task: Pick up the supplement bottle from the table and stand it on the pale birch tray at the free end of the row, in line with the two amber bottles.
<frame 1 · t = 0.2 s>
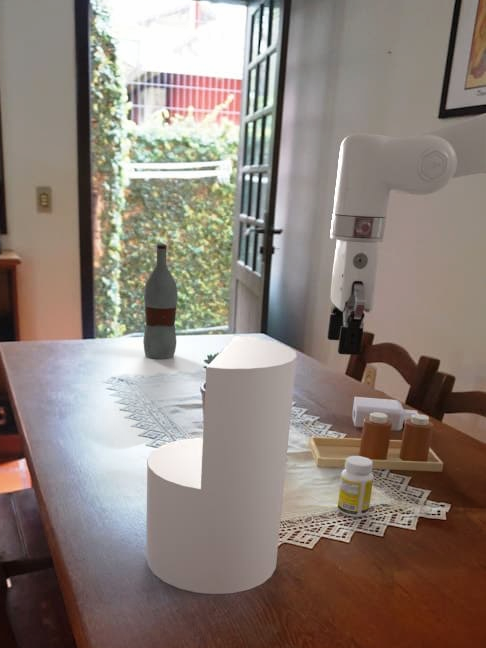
hand: (342, 346, 105), 23 cm above the table, tool pointing down, fingers open, 9 cm apart
grey green soda bottle: (159, 356, 193), on the table
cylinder: (211, 559, 91), on the table
tray: (372, 459, 126), on the table
charger: (388, 426, 145), on the table
amber bottle 2: (372, 457, 126), resting on tray
supplement bottle: (352, 512, 106), on the table
amber bottle 1: (413, 458, 126), resting on tray
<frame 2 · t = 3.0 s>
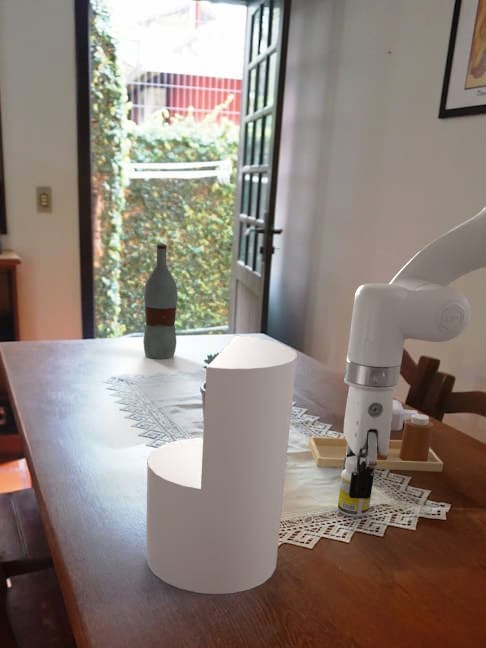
hand: (355, 488, 104), 4 cm above the table, tool pointing down, fingers closed on supplement bottle, 4 cm apart
supplement bottle: (352, 512, 106), on the table, touching gripper
everything else where it was.
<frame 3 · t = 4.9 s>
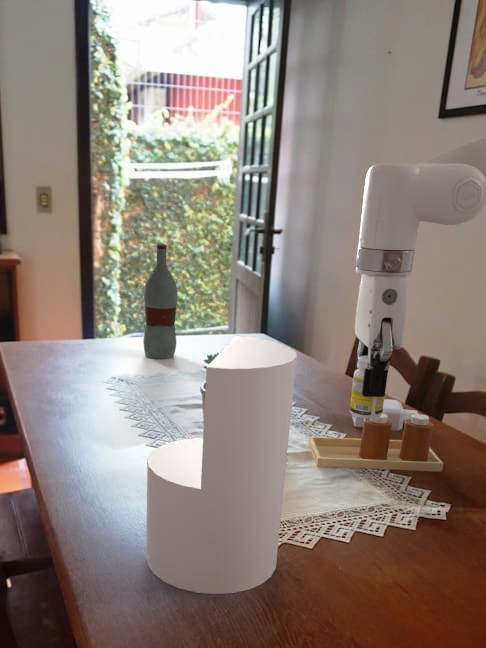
hand: (368, 389, 100), 19 cm above the table, tool pointing down, fingers closed on supplement bottle, 4 cm apart
supplement bottle: (365, 415, 102), point 15 cm above the table, touching gripper
everything else where it was.
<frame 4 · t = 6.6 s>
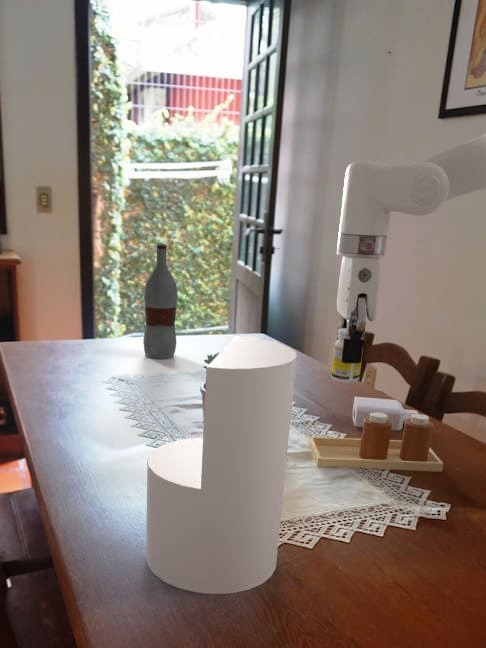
hand: (347, 357, 116), 19 cm above the table, tool pointing down, fingers closed on supplement bottle, 4 cm apart
supplement bottle: (344, 380, 117), point 16 cm above the table, touching gripper
everything else where it was.
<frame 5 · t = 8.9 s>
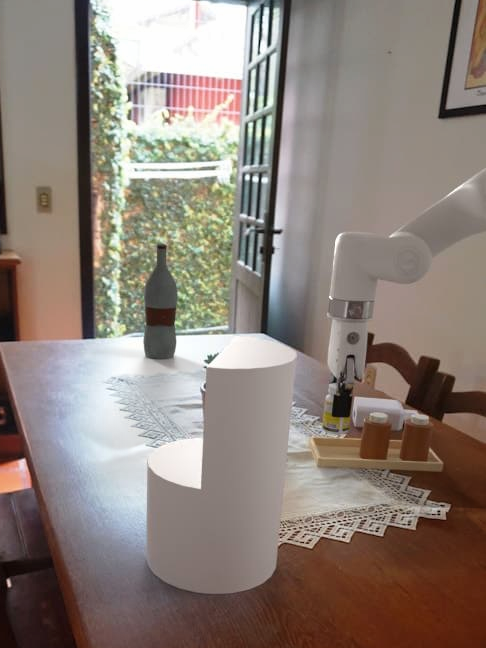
hand: (337, 410, 122), 9 cm above the table, tool pointing down, fingers closed on supplement bottle, 4 cm apart
supplement bottle: (334, 431, 124), point 5 cm above the table, touching gripper
everything else where it was.
when the fingers open (4 cm above the table, at t = 10.5 s): supplement bottle stays where it is, resting on tray.
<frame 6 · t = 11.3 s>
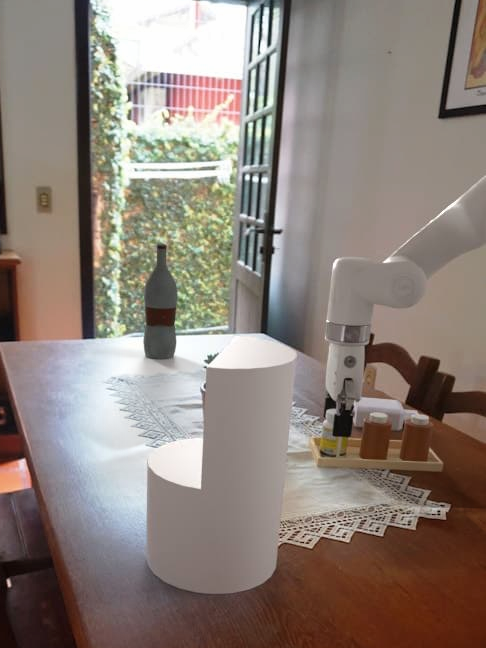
hand: (336, 427, 124), 6 cm above the table, tool pointing down, fingers open, 9 cm apart
supplement bottle: (332, 456, 126), resting on tray
everything else where it was.
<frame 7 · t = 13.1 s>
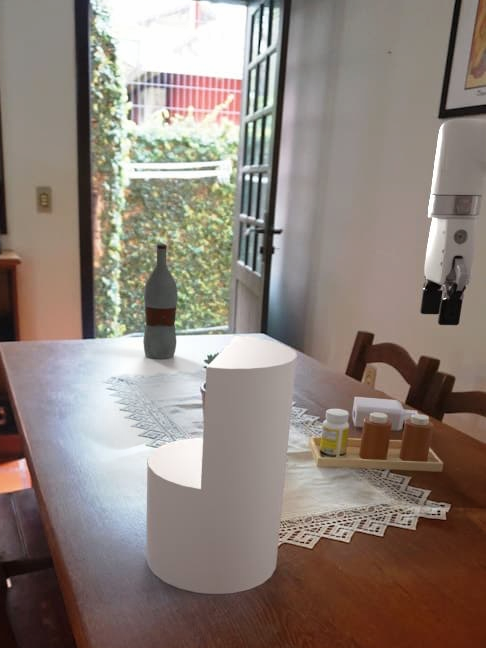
hand: (438, 319, 112), 27 cm above the table, tool pointing down, fingers open, 9 cm apart
nothing on the table moved.
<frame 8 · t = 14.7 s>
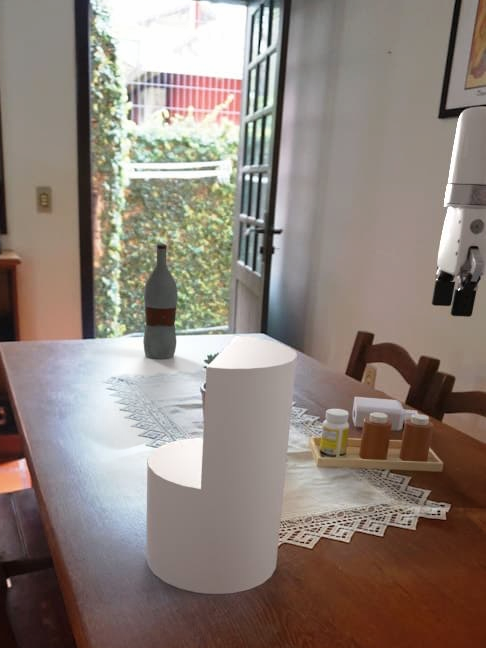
hand: (450, 310, 111), 28 cm above the table, tool pointing down, fingers open, 9 cm apart
nothing on the table moved.
at the end: supplement bottle 0.0 cm from the target spot in the tray, point 0.3 cm above the tray's base; supplement bottle tilted 0°; amber bottle 2 moved 0.0 cm from its start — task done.
